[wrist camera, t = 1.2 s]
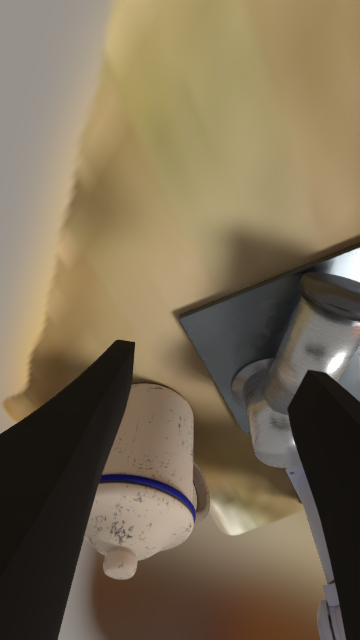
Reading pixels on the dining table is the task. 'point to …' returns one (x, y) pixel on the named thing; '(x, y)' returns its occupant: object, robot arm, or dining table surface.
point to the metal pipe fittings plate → (260, 329)
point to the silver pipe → (302, 361)
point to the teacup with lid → (147, 482)
